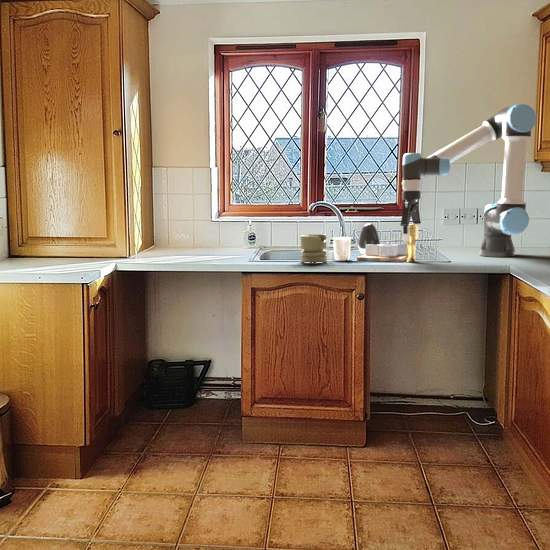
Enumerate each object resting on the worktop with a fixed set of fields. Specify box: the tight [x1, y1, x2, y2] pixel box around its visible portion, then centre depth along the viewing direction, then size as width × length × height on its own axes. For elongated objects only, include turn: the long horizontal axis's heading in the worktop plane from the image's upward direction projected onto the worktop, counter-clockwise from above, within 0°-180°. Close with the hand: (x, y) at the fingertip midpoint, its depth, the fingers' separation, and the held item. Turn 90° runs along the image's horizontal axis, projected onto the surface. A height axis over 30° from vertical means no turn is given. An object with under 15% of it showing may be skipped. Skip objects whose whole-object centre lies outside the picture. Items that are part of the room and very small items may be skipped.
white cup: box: [332, 236, 352, 262], centre depth 287 cm, size 8×8×10 cm
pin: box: [406, 223, 416, 263], centre depth 274 cm, size 4×4×16 cm
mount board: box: [356, 254, 407, 263], centre depth 287 cm, size 20×16×2 cm
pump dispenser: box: [357, 222, 381, 255], centre depth 303 cm, size 10×10×15 cm
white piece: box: [366, 243, 407, 257], centre depth 287 cm, size 18×12×5 cm, turn 62°
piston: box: [300, 233, 328, 263], centre depth 282 cm, size 11×12×11 cm
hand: (410, 240), depth 274 cm, fingers open, 13 cm apart
